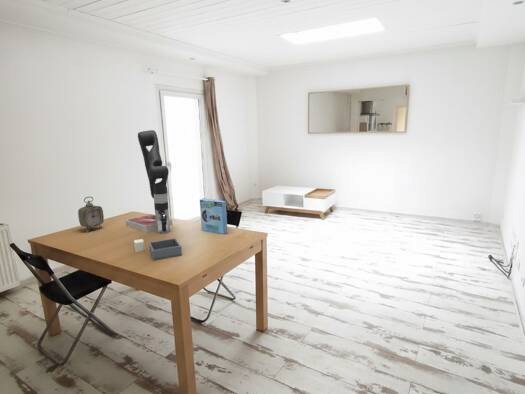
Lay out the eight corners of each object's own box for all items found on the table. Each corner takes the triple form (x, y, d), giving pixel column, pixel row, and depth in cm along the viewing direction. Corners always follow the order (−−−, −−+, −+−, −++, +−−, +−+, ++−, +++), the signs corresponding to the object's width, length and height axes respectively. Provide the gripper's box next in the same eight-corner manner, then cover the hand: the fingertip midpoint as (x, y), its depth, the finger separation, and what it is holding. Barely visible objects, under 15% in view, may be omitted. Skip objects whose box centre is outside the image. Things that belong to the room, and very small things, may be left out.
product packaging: (151, 220, 262) (150, 214, 261) (172, 225, 244) (172, 219, 243) (126, 226, 245) (125, 220, 244) (147, 233, 228) (146, 226, 227)
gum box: (227, 232, 224) (226, 200, 220) (223, 234, 220) (221, 202, 215) (205, 228, 234) (204, 198, 229) (201, 230, 229) (199, 199, 225)
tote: (149, 251, 191) (149, 242, 190) (176, 246, 198) (175, 238, 197) (153, 260, 178) (152, 250, 176) (181, 255, 184) (181, 246, 183)
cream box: (134, 248, 196) (133, 240, 195) (143, 247, 198) (142, 238, 197) (135, 252, 191) (134, 243, 190) (144, 250, 193) (143, 241, 192)
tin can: (157, 231, 187) (156, 220, 185) (167, 230, 189) (166, 218, 188) (159, 234, 182) (158, 222, 180) (169, 232, 184) (168, 221, 183)
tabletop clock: (86, 233, 228) (81, 199, 222) (79, 231, 232) (74, 198, 227) (105, 228, 240) (101, 195, 235) (97, 226, 244) (93, 194, 239)
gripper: (152, 199, 186) (154, 227, 190) (156, 204, 174) (158, 234, 177) (165, 198, 190) (167, 225, 193) (170, 202, 177) (172, 232, 180)
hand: (163, 229), depth 185 cm, fingers closed on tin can, 5 cm apart
